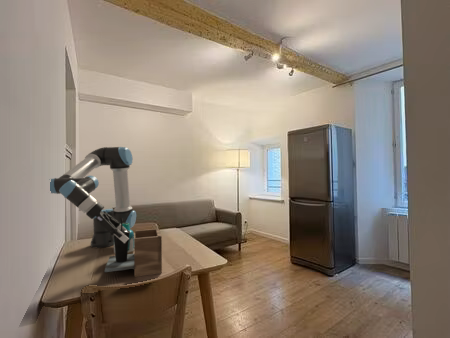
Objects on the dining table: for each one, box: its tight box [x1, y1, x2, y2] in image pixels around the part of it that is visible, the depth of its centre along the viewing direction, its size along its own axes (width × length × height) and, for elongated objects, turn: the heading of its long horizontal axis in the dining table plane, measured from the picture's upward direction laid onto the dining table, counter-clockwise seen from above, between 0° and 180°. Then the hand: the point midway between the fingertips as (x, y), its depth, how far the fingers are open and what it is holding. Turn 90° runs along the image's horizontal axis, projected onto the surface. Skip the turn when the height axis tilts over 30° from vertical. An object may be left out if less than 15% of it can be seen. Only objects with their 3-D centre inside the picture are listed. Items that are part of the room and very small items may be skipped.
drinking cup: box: [114, 219, 130, 262], centre depth 117 cm, size 8×8×20 cm
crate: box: [104, 228, 163, 278], centre depth 119 cm, size 18×24×17 cm
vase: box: [113, 223, 135, 255], centre depth 135 cm, size 11×11×19 cm
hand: (127, 237), depth 118 cm, fingers open, 11 cm apart
